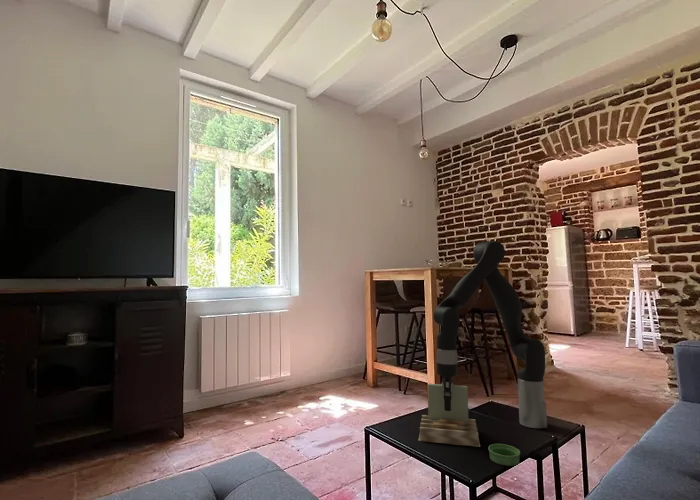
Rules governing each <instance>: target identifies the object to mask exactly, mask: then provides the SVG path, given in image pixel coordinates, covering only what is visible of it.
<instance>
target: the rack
mask: <svg viewBox="0 0 700 500" xmlns="http://www.w3.org/2000/svg"><path fill="white" fill-rule="evenodd" d="M433 422H434V423H440V422H439V420H431V419H428V414H427V415H426V414H421V421H420V426H419V435H418V439H417V440H418V442H419V441H420V442H428V443H429V442H430V443H437V444H438V443H440V444H447V445H448V444H449V445H456V446H466V447H467V446H469V447H479V448H480V447H481V444H480V439H479V432H478V427H477V423H476V419H473V418H468V422H469V423H465V422H463V426H458V430H448V429H438V428H433Z"/></svg>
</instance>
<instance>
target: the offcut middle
mask: <svg viewBox="0 0 700 500" xmlns="http://www.w3.org/2000/svg"><path fill="white" fill-rule="evenodd" d="M439 422H440V423H446V424H457V426H463V421H458V420H447V419H440V420H439Z"/></svg>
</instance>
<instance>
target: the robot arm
mask: <svg viewBox="0 0 700 500" xmlns="http://www.w3.org/2000/svg"><path fill="white" fill-rule="evenodd" d="M472 253H473V254H472V255H473V258H474V259H473V260H474V261H475V263H476V265H475V266H474V267H473V268H472V269H471V270H470V271H469V272H467V273H466V274H465V275H464V276H463V277H461V279H460V280H459V281H458V282H457V283H456V284H455V286H454V287H453V288H452V290H451V292H450V294H449V295H448V296H447V297H446V298H444V300H443V301H441V302H440V304H438V305H437V307H436V308H435V310H434V312H433V320H434V322H435V323H436V324H437V325H439V326H441V332H439V333H437V335H436V356H435V357H436V374H437V375H438V376H442V377H443V378H441V384H442V389H443V394H444V408H445V411H451V399H452V397H451V394H452V386H453V385H454V380H453V379H451V377H457V376H458V373H459V372H458V351H457V337H458V331H459V328H460V327H459V326H460V313H459V312H458V310H459V309H462V308H464V307H465V306H466V305H467V304H468V302H469V301H470V299H471V298H472V296H473V295H474V294H475V292H476V290H477V289H478V288H479V287H480V285H481V284H482V283H483V281H485V282H486V285H487V286H488V287H487V288H488V289H489V293H490V294H491V296H492V299H493V302H494V304H495V306H496V309H497V311H498V313H499V316H500V318H501V321H502V324H503V327H504V329H505V331H506V335H507V339H508V342H509V345H510V348H511V351H512V353H513V355H514V356H515V358H516V359H518V360H520V361H524V362H525V367H524V368H523V369H518V371H517V392H518V395H517V396H518V413H519V414H518V415H519V416H518V420H519V425H522V426H523V427H527V428H532V429H543V428H544V429H548V417H547V415H548V414H547V403H546V400H545V387H544V375H545V373H546V350H545V348H546V347H545V346H544V344H543V342H542V341H541V340H539V339H537V338H533V337H527V335H525V332H524V330H523V328H522V323H521V319H522V315H523V304H522V303H521V299H520V297H519V295H518V292H517V290H516V288H514V286H513V285H512V284H511V283H510V282H509V281H508V280H507V279H506V278H505V277H504V275H503V274H502V273H501V272H500V270H499V267H498V265H499V264H500V263H502V261H504V258H505V256H506V249H505V246H504V244H503V243H501V242H499V241H497V240H491V241H483V242H479V243H477V244H476V245H475V246H474V247H473V251H472ZM445 394H450V396H445Z"/></svg>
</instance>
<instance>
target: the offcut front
mask: <svg viewBox="0 0 700 500" xmlns="http://www.w3.org/2000/svg"><path fill="white" fill-rule="evenodd" d="M433 428H438V429H448V430H458V426H457V424H446V423H434V422H433Z"/></svg>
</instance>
